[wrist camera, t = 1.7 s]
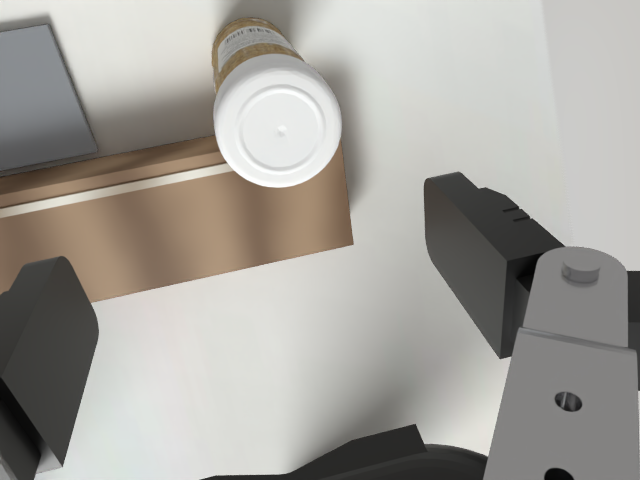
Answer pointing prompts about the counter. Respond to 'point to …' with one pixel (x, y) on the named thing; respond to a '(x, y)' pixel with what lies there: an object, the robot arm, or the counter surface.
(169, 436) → the counter surface
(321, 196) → the walnut board
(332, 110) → the sprinkles bottle
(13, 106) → the grey pad
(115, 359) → the counter surface
